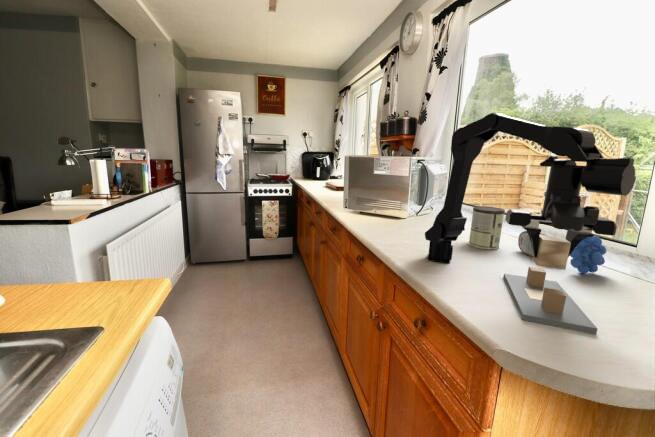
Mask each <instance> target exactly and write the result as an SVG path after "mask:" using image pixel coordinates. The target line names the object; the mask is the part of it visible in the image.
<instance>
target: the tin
mask: <svg viewBox="0 0 655 437" xmlns="http://www.w3.org/2000/svg"><path fill="white" fill-rule="evenodd" d="M540 235H547V236H549V235H548V234H545V233H543V232H541V233H540ZM517 243H518V244H517V245H518V248H519V250H520V251H521V252H522V254H524V255H527V256H529V257H531V258H533V251H532V247H531V243H530V239H529V236H528V233H527V230H525V231H522V232H521V233H520V234H519V235H518V242H517Z"/></svg>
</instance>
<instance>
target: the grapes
mask: <svg viewBox="0 0 655 437" xmlns="http://www.w3.org/2000/svg"><path fill="white" fill-rule="evenodd" d="M606 254H607V248H606V247H605V245H603V242H602V239H601V237H599V236H596V235H594V236H593V237H587V238H586V239H584V240H582V241H581V242H580V243H579V244H578V245H577V246H576V248H575V249H574V250H573V252H572V253H571V254H570V256H569V257H571V259H570V262H569V263H570V264H571V266H572V267H573V268H574V269H577V271H578V272H579V273H580V274H588V273H591V274H592V273H593V274H594V273H596V272H598V269H599V267H598V266H603V265H604V264H605V262H606V260H605V258H604V255H606Z"/></svg>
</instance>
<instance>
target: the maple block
mask: <svg viewBox="0 0 655 437" xmlns="http://www.w3.org/2000/svg"><path fill="white" fill-rule="evenodd" d="M547 235H548V234H545V235H539V247H538V254H537V258H535V257H534V256H533V257H531V258H532V259H531V260H533V261H534V263H535V264H536V266H538V267H541V268H550V269H557V270H566V268H567V263H568V259H569V257H568V255H569V250H570V246H571V242H569V241H568V240H566V237H563V236H555V235H548V236H547Z"/></svg>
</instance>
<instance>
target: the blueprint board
mask: <svg viewBox="0 0 655 437" xmlns="http://www.w3.org/2000/svg"><path fill="white" fill-rule="evenodd" d="M526 274H527V275H526V276H522V275H515V274H509V273H503V279H504V282H505V285H506V286H507V289H508V291H509V293H510V295H511V297H512V298H511V299H512V301H513V303H514V304H515V306H516V308H517V311H518V314H519V316H520V318H521V320H522V321H527V322H531V323H535V324H540V325H541V324H542V325H546V326H550V327H551V326H552V327H557V328H563V329H567V330H571V331H577V332H582V333H587V334H592V335H597V334H598V327H597V326H596V325H595V324H594V323H593V321H592V320H591V319H590V318H589V316H587V315H586V313H585V312H584V311H583V310H582V309H581V308H580V307H579V306H578V304H577V303H576V302H575V301H574V299H572V297H571V296H570V295H569V294H568V293H567V291H565V289H564V288H563V287H562V286H561V285H560V283H559V282H558V281H554V280H548V279H546V275H547V272H546V270H545V269H544V267H536V266H528V269H527V273H526Z"/></svg>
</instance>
